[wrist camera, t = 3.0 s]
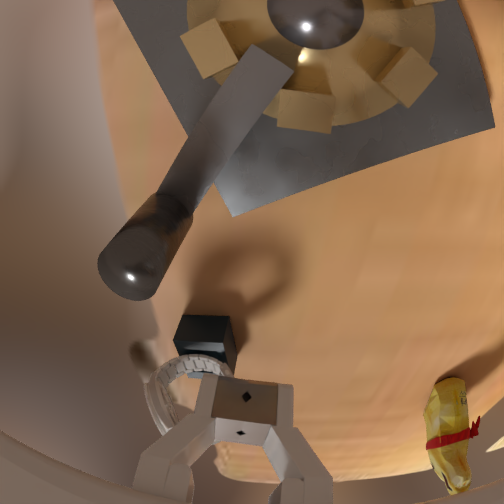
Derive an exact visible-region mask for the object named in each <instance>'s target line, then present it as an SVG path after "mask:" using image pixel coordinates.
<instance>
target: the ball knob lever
mask: <svg viewBox="0 0 504 504" xmlns="http://www.w3.org/2000/svg"><path fill="white" fill-rule="evenodd" d="M442 1H445V0H187V21H188V28H189V31H188V32H186V33H185V34H183V35H181V36H180V38H181V40H182V41H183V43H184V45H185V47H186V49H187V50H188V52H189V54H190V56H191V58H192V60H193V61H194V63H195V65H196V67H197V69H198V70H199V72H200V74H201V76H202V78H203V79H207V78H211V77H213V78H214V79H215V80H216V81H217V82H218V83H219V84H220V85H221V88H220V89H219V91H218V92H217V93H216V95H215V96H214V98H213V99H212V101H211V102H210V104H209V106H208V107H207V109H206V110H205V112H204V113H203V115H202V116H201V118H200V119H199V121H198V123H197V124H196V126H195V127H194V129H193V131H192V132H191V134H190V136H189V137H188V139H187V140H186V142H185V144H184V145H183V147H182V149H181V150H180V152H179V154H178V155H177V157H176V159H175V161H174V162H173V164H172V166H171V168H170V169H169V171H168V173H167V175H166V176H165V178H164V180H163V182H162V184H161V185H160V187H159V189H158V191H157V192H156V193H154V194H152V195H151V196H150V197H149V198H148V199H147V200H146V202H145V203H144V204H143V205H142V206H141V207H140V208H139V209H138V210H137V211H136V213H135V214H134V215H133V216H132V217H131V218H130V219H129V220H128V222H127V223H126V224H125V225H124V226H123V227H122V228H121V230H120V231H119V232H118V233H117V234H116V235H115V237H114V238H113V239H112V240H111V241H110V242H109V244H108V245H107V246H106V247H105V248H104V250H103V251H102V252H101V254H100V255H99V258H98V270H99V274H100V276H101V278H102V280H103V281H104V283H105V284H106V285H107V286H108V287H109V288H110V289H111V290H112V291H113V292H115V293H116V294H118V295H119V296H121V297H123V298H126V299H130V300H134V301H141V300H146V299H149V298H150V297H152V296H153V295H154V294H155V292H156V290H157V289H158V287H159V285H160V283H161V281H162V279H163V277H164V275H165V273H166V271H167V269H168V268H169V266H170V264H171V262H172V260H173V258H174V256H175V255H176V253H177V251H178V249H179V247H180V245H181V244H182V242H183V240H184V238H185V236H186V234H187V233H188V231H189V229H190V227H191V225H192V222H193V212H194V211H195V209H196V208H197V206H198V205H199V203H200V201H201V200H202V198H203V197H204V195H205V194H206V192H207V191H208V189H209V188H210V186H211V185H212V184H213V182H214V181H215V179H216V178H217V176H218V175H219V173H220V172H221V170H222V169H223V167H224V166H225V165H226V163H227V162H228V160H229V159H230V157H231V156H232V155H233V153H234V152H235V150H236V149H237V147H238V146H239V145H240V143H241V142H242V140H243V139H244V138H245V136H246V135H247V133H248V132H249V131H250V129H251V128H252V127H253V125H254V124H255V122H256V121H257V120H258V118H259V117H260V116H261V114H262V113H263V114H265V115H268V116H270V117H273V118H276V119H278V120H277V127H283V128H291V129H299V130H306V131H313V132H320V133H326V134H331V128H332V126H337V125H344V124H351V123H355V122H359V121H362V120H366V119H368V118H371V117H373V116H376V115H378V114H381V113H382V112H384V111H386V110H388V109H389V108H391V107H393V106H394V105H395V104H397V103H399V104H400V105H402V106H404V107H407V108H409V107H410V106H411V105H412V104H413V103H414V102H415V100H416V99H417V98H418V97H419V96H420V95H421V93H422V92H423V91H424V90H425V89H426V88H427V86H428V85H429V84H430V83H431V82H432V81H433V79H434V78H435V77H436V76H437V75H438V73H437V72H436V71H435V70H434V69H433V68H432V67H431V66H430V65H429V62H430V59H431V56H432V53H433V48H434V43H435V30H436V24H435V15H434V9H433V5H432V4H435V3H439V2H442Z"/></svg>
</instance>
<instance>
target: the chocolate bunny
mask: <svg viewBox="0 0 504 504" xmlns="http://www.w3.org/2000/svg"><path fill="white" fill-rule="evenodd" d="M423 416H424V419H425V423H426V432H427V443H426V450H428V454H429V458H430V462H431V464H432V467H433V469H434V471H435V472H436V474H437V475H438V476H439V477H440V479H441V480H443V481H444V482H445V484H446V486H447V489H448V491H449V493H450V495H454V494H458V493H461V492H464V491H468V489H469V486H470V483H471V477H472V475H471V470H470V468H469V465H468V463H467V459H466V455H467V449H468V441H469V438H473V436H477V435H478V427H479V423H480V416H479V417H478V419H477V422H476V424H475V423H474V421H473V422H472V428H471V430H470V428H469V417H468V405H467V398H466V387H465V381H464V380H461V379H458V378H455V377H452V378H447V379H444V380H442V381H441V382H439V383H437V384H435V385H434V388H433V391H432V393H431V396H430V398H429V401H428V403H427V405H426V408H425V410H424V414H423Z"/></svg>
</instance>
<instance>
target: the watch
mask: <svg viewBox="0 0 504 504" xmlns="http://www.w3.org/2000/svg"><path fill="white" fill-rule="evenodd" d="M173 342H174V344H175V347H176V349H177V351H178V354H179V357H176V358H173V359H171V360H169V361H168V362H169V363H168V362H166V363H164V364H163V365H162V366H160V368H158V369H157V370H156V371H155V372H153V373H152V374H151V376H150V380H149V383H145V384H144V392H145V397H146V401H147V404H148V407H149V410H150V412H151V415H152V417H153V419H154V422H155V424H156V426H157V428H158V429H159V431H160V433H161V434H162V435H164V434H166V433H167V432H168V431H169V430H170V429H172V428H173V427H174V426H175V425H176V424H177V423H179V419H178V416H177V413H176V410H175V408H174V406H173V403H172V401H171V398H170V396H169V394H168V392H167V389H166V387H167V386H168V385H169V384H168V383H171V382H172V381H173V380H175V379H176V377H177V378H178V377H180V376H181V375H183V374H184V372H185V373H187V375H188V378H198V379H202V377H203V374H204V373H209V374H215V375H220V376H226V377H232V378H235V377H234V371H235V366H236V361H237V351H236V346H235V342H234V337H233V332H232V327H231V322H230V317H229V316H205V315H182V318H181V320H180V323H179V325H178V328H177V331H176V333H175V336H174V339H173ZM178 358H179V359H178ZM174 366H175V367H174ZM175 368H176V369H175ZM218 442H220V441H219V440H214V442H213V443H212V445H214V444H216V443H218Z"/></svg>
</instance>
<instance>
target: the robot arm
mask: <svg viewBox="0 0 504 504" xmlns="http://www.w3.org/2000/svg"><path fill="white" fill-rule="evenodd" d="M293 401H294V388H293V385H292V384H280V383H274V382H264V381H255V380H245V379H238V378H232V377H226V376H220V375H215V374H209V373H204V374H203V377H202V380H201V384H200V389H199V393H198V397H197V401H196V406H195V410H194V414H191V413H189V414H188V415H187V416H186V417H184V418H183V419H182V420H181V421H180V422H179V423H177V424H176V425H175V426H174V427H173V428H172V429H170V430H169V431H168V432H167V433H166V434H164V435H163V436H162V437H161V438H160V439H158V440H157V441H156V442H155V443H154V444H153V445H151V446H150V447H149V448H148V449H146V450H145V451H144V452H143V453H142V454H141V458H140V461H139V464H138V468H137V471H136V474H135V478H134V481H133V485H132V488H128V487H125V486H122V485H119V484H116V483H112V482H110V481H106V480H104V479H101V478H98V477H96V476H93V475H91V474H88V473H85V472H83V471H81V470H78V469H76V468H73V467H71V466H69V465H66V464H64V463H62V462H60V461H57V460H55V459H53V458H51V457H49V456H46V455H45V454H43V453H41V452H39V451H37V450H35V449H33V448H31V447H29V446H27V445H25V444H24V443H22V442H20V441H18V440H16V439H15V438H13V437H11V436H9V435H8V434H6V433H4V432H3V431H1V430H0V504H192V498H193V492H194V482H193V476H192V470H191V468H190V466H191V465H192V464H193V463H194V462H195V461H196V460H197V459H198V458H199V457H200V455H202V453H203V452H204V451H205V450H206V449H207V448H208V447H209V446H210V445H211V444H212V443H213V442H214V440H219V441H226V442H235V443H242V444H249V445H256V446H263V449H264V451H265V453H266V455H267V457H268V459H269V461H270V463H271V464H272V466H273V468H274V470H275V472H276V474H277V475H278V477H279V479H280V481H281V483H280V484H279V486H278V487H277V488H276V489H275V490H274V491H273V493H272V494H271V495H270V496H269V501H268V504H333V478H332V476H331V475H330V474H329V472H328V471H327V469H326V468H325V467H324V465H323V464H322V462H321V461H320V460H319V458H318V457H317V455H316V454H315V452H314V451H313V450H312V448H311V447H310V445H309V444H308V442H307V441H306V439H305V438H304V437H303V435H302V434H301V432H300V431H299V429H298V428H296V427H293ZM417 504H504V478H502V479H500V480H497V481H495V482H492V483H489V484H486V485H483V486H481V487H477V488H474V489H471V490H468V491H464V492H461V493H458V494H454V495H450V496H447V497H443V498H439V499H435V500H430V501H426V502H421V503H417Z"/></svg>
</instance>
